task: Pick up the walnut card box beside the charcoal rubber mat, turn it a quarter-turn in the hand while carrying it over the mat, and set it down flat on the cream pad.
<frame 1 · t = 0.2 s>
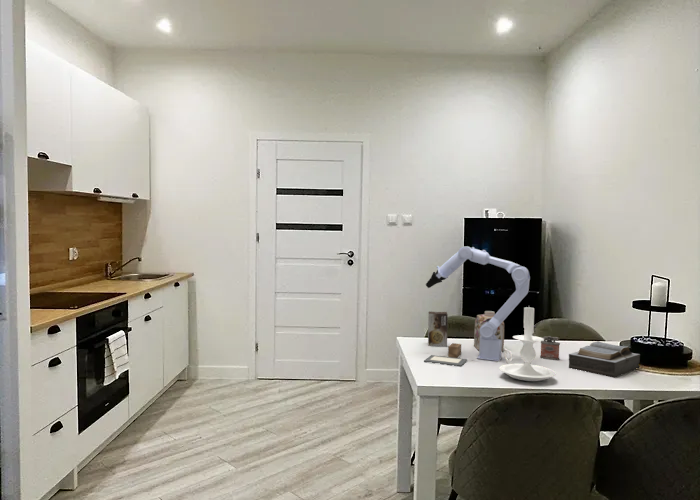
hand: (428, 285, 250), 31 cm above the table, tool tilted 45°, fingers open, 7 cm apart
coffee box: (437, 345, 265), on the table
lighter: (549, 359, 242), on the table
candlestick: (523, 377, 210), on the table
rubber mat: (445, 361, 232), on the table
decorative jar: (488, 349, 259), on the table
bible: (604, 369, 226), on the table
card box: (454, 356, 243), on the table
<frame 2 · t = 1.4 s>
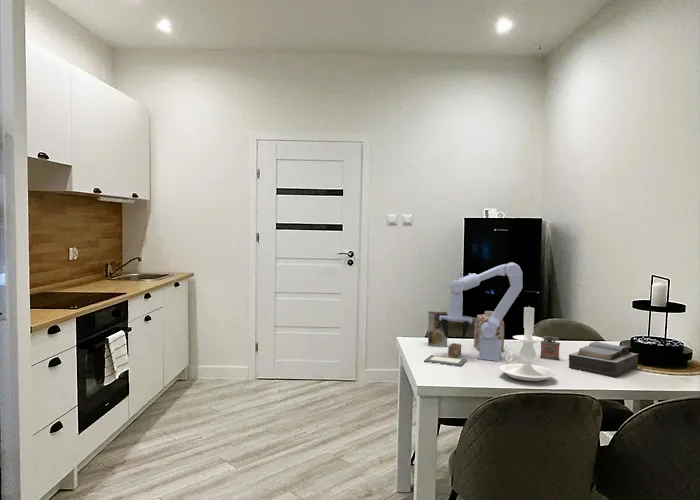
hand: (455, 337, 243), 8 cm above the table, tool pointing down, fingers open, 7 cm apart
nothing on the table moved.
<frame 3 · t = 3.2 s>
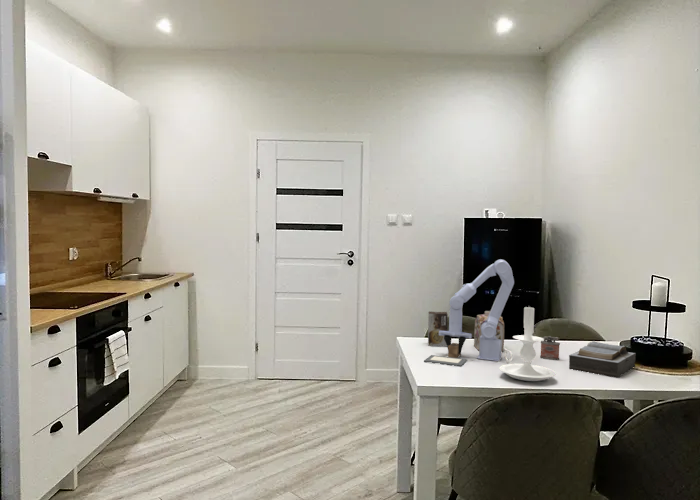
hand: (454, 352, 243), 1 cm above the table, tool pointing down, fingers closed on card box, 4 cm apart
card box: (454, 356, 243), on the table, touching gripper
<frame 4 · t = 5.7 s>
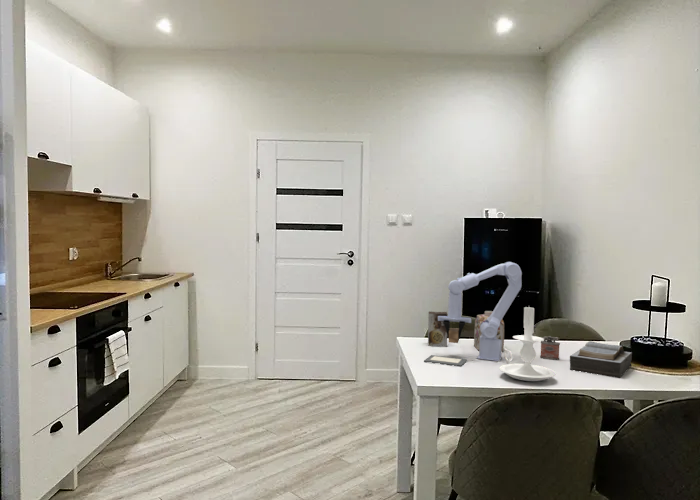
hand: (453, 337, 241), 8 cm above the table, tool pointing down, fingers closed on card box, 4 cm apart
card box: (453, 341, 241), point 7 cm above the table, touching gripper
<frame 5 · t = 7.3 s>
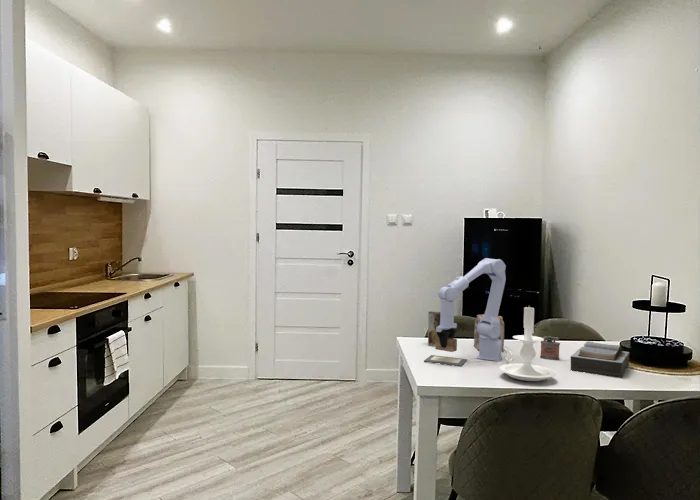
hand: (446, 346, 232), 6 cm above the table, tool pointing down, fingers closed on card box, 4 cm apart
card box: (446, 349, 232), point 5 cm above the table, touching gripper
when the fingers open (3 cm above the table, at t = 8.6 s): card box stays where it is, resting on rubber mat.
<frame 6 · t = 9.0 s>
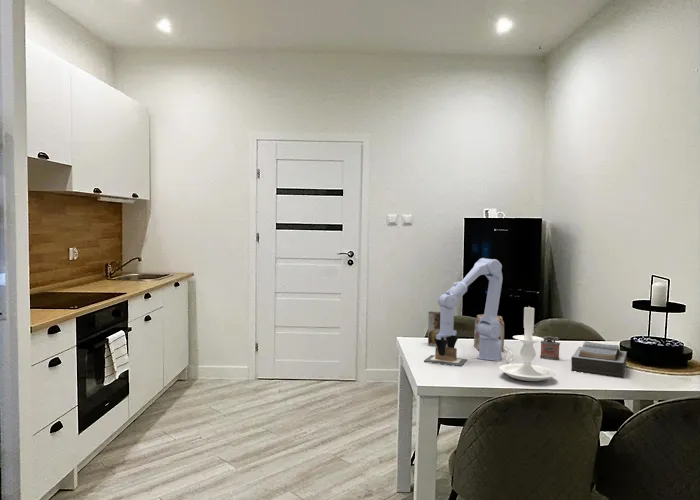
hand: (446, 353, 232), 3 cm above the table, tool pointing down, fingers open, 7 cm apart
card box: (445, 359, 232), point 1 cm above the table, touching rubber mat
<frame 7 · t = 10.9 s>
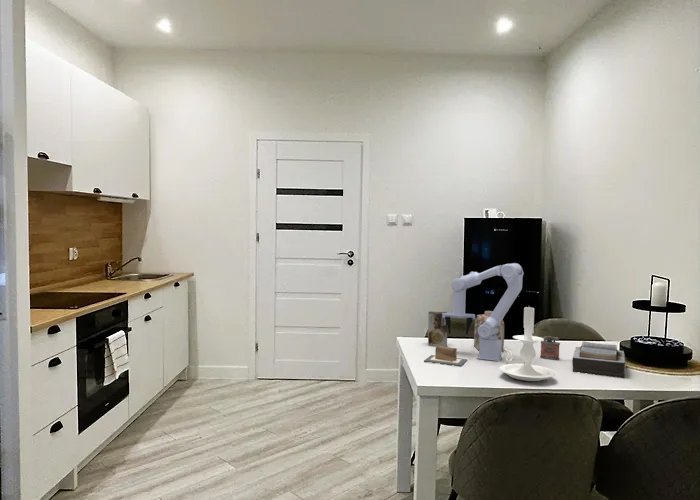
hand: (458, 333, 248), 9 cm above the table, tool pointing down, fingers open, 7 cm apart
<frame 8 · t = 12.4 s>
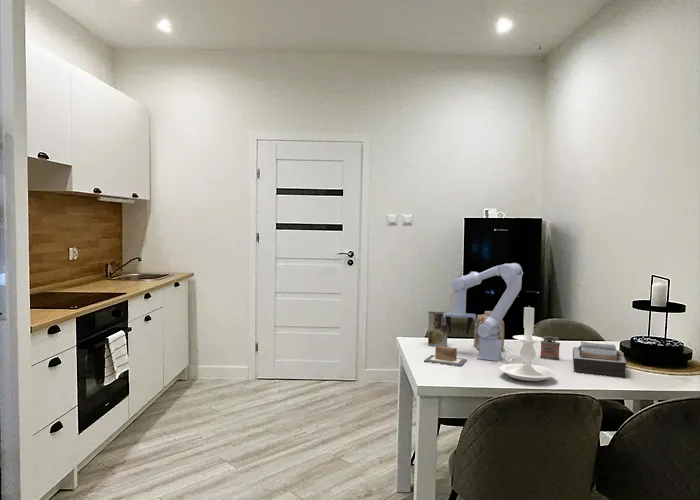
hand: (458, 333, 249), 9 cm above the table, tool pointing down, fingers open, 7 cm apart
at the end: card box 0.0 cm off-centre on the rubber mat, point 0.8 cm above the rubber mat's base; card box tilted 0°; the gripper is holding nothing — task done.
